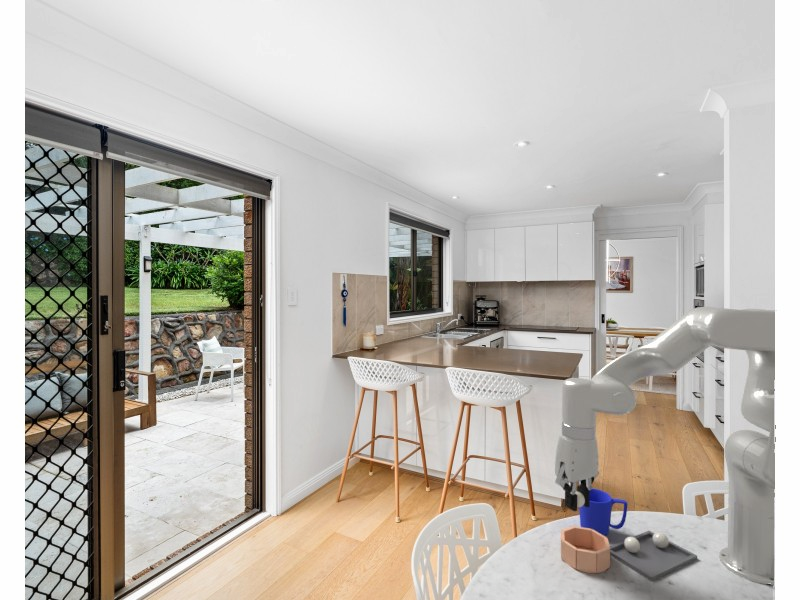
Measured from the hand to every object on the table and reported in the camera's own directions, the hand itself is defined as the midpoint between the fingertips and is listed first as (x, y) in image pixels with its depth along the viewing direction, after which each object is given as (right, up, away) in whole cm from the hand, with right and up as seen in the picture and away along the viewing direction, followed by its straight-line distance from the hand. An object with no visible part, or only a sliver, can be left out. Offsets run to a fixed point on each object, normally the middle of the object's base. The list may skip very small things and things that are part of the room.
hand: (577, 505), depth 104 cm
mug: (+11, -13, +11) cm, 20 cm away
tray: (+18, -13, +1) cm, 22 cm away
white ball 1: (0, 0, 0) cm, 0 cm away
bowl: (+2, -13, 0) cm, 13 cm away
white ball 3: (+23, -12, +4) cm, 26 cm away
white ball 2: (+15, -12, +2) cm, 19 cm away
